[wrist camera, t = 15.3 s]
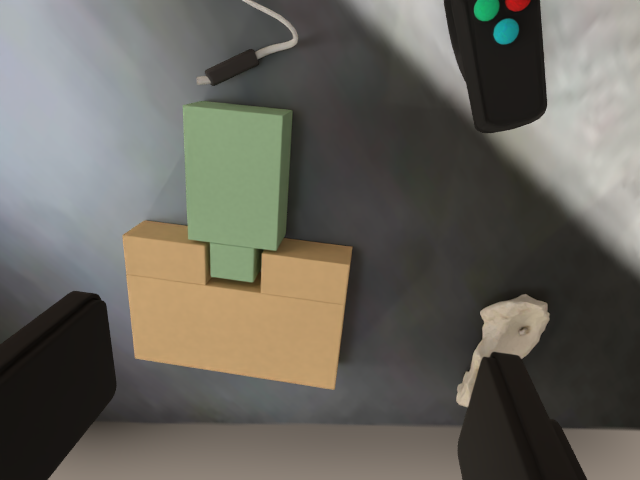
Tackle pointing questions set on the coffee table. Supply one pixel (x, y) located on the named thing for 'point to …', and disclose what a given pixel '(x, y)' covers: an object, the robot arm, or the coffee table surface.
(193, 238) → the green pad
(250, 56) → the clip-on lamp
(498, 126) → the controller
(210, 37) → the coffee table surface
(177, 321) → the sand pad
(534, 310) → the coral
